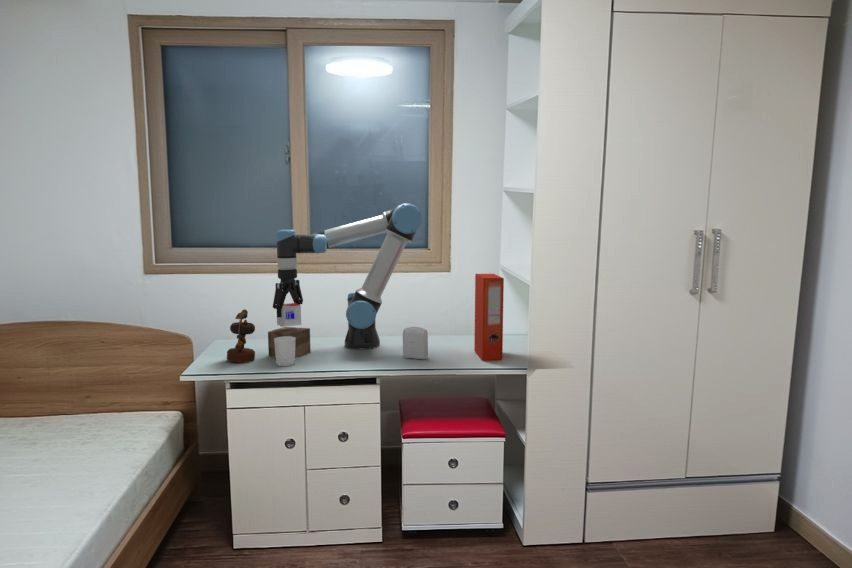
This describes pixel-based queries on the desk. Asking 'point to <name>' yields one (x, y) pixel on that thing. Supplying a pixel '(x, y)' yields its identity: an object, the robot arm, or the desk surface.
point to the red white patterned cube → (292, 314)
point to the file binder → (489, 316)
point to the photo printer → (415, 343)
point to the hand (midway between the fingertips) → (289, 322)
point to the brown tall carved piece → (241, 340)
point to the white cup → (285, 350)
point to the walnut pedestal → (299, 333)
